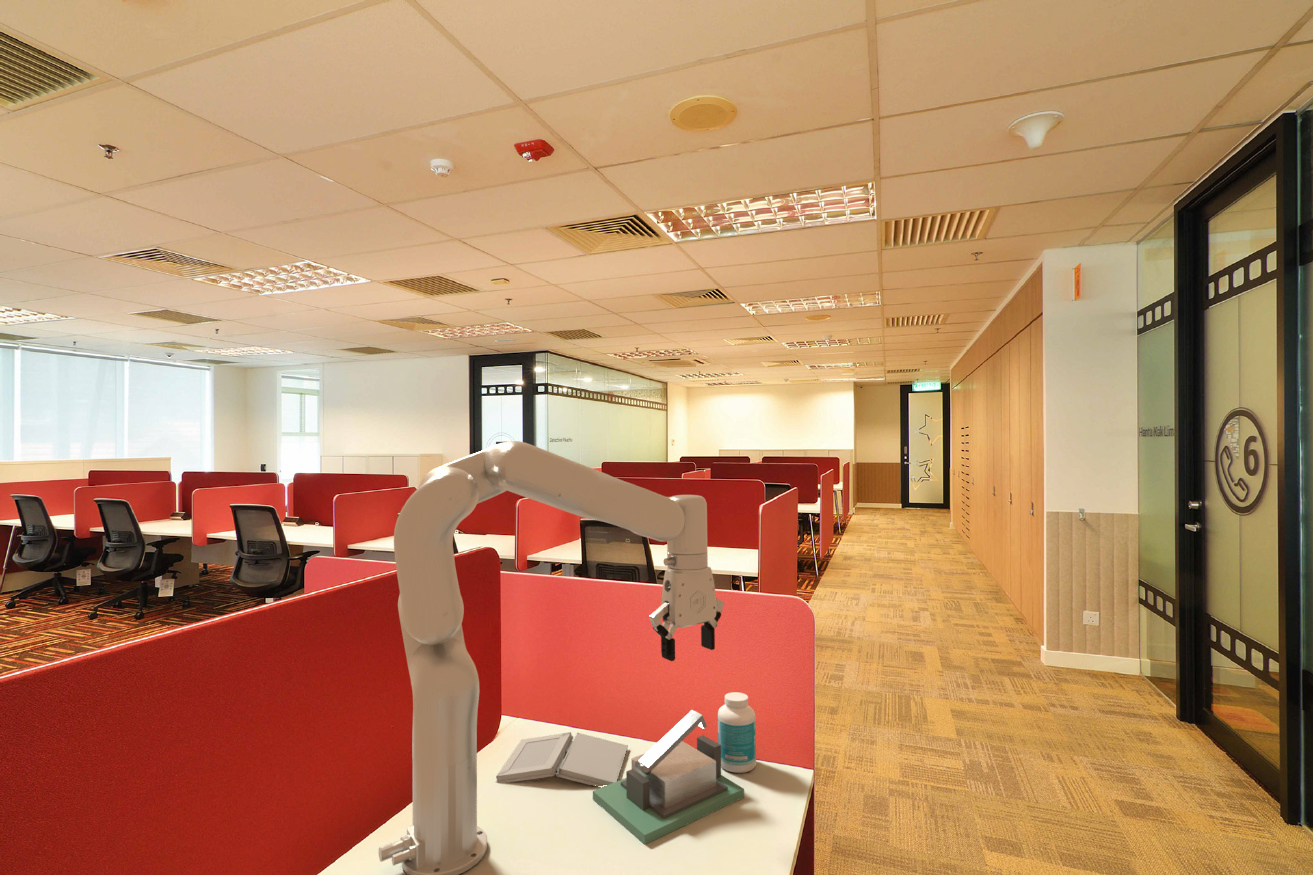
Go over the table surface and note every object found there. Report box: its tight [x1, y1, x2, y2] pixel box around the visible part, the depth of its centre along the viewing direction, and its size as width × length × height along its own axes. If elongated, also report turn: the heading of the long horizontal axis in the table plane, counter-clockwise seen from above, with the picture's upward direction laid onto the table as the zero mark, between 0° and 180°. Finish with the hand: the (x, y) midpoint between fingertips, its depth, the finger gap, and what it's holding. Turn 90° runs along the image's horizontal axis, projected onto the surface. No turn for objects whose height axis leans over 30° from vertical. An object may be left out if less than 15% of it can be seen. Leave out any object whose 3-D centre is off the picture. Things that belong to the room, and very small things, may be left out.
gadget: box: [495, 731, 629, 787], centre depth 124 cm, size 23×15×4 cm, turn 84°
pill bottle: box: [717, 691, 757, 774], centre depth 123 cm, size 8×7×14 cm
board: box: [592, 734, 745, 845], centre depth 111 cm, size 22×16×7 cm
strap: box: [635, 709, 708, 775], centre depth 112 cm, size 15×3×3 cm, turn 127°
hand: (688, 653), depth 116 cm, fingers open, 9 cm apart
